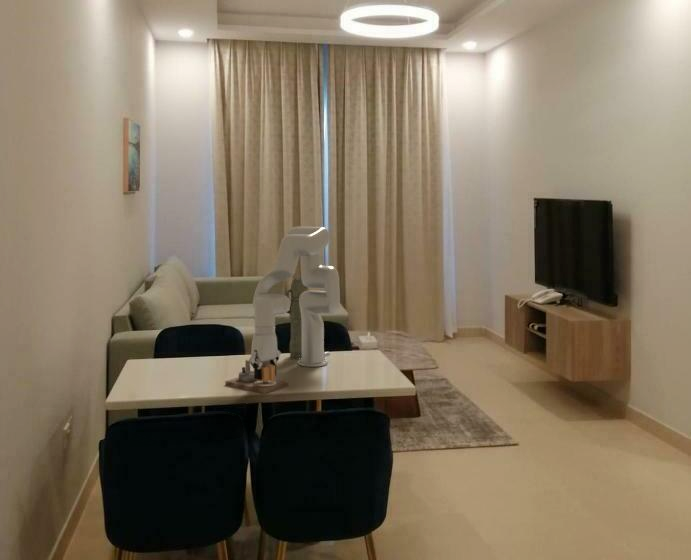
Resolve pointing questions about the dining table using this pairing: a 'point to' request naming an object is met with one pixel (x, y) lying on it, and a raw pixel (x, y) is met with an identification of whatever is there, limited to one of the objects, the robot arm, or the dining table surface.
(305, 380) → the dining table surface
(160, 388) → the dining table surface
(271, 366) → the loose gear
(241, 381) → the gear board
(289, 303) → the robot arm
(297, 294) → the thermos
